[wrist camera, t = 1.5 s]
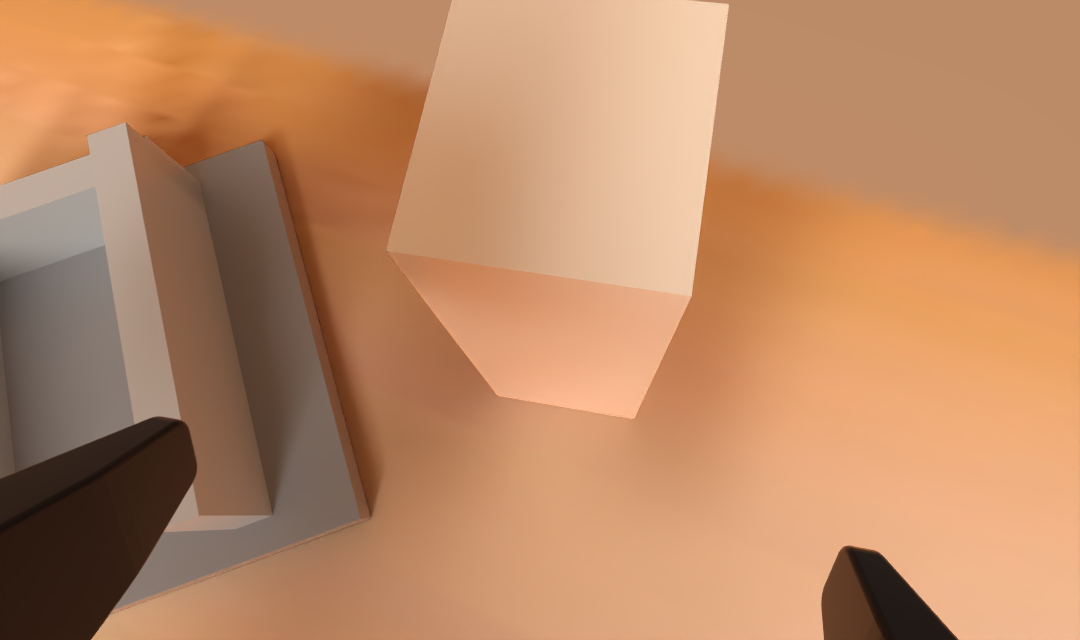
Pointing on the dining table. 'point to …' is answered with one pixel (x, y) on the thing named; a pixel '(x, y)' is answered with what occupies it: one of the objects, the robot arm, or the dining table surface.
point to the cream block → (563, 190)
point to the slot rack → (175, 344)
